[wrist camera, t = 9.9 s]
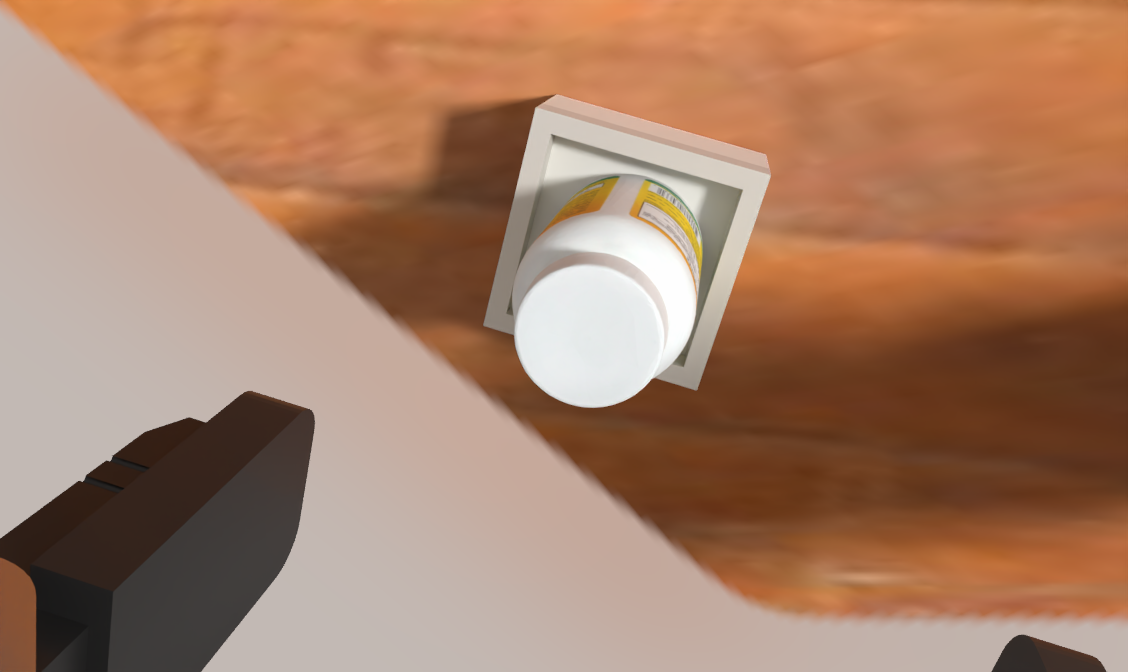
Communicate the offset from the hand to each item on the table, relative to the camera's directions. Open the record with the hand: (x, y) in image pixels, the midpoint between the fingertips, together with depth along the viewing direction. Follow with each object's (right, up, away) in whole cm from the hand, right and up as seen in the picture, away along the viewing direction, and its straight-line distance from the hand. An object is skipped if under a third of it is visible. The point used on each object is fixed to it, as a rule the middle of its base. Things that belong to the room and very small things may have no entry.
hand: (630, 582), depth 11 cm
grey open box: (+2, +7, +26) cm, 27 cm away
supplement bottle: (+1, +6, +23) cm, 24 cm away
